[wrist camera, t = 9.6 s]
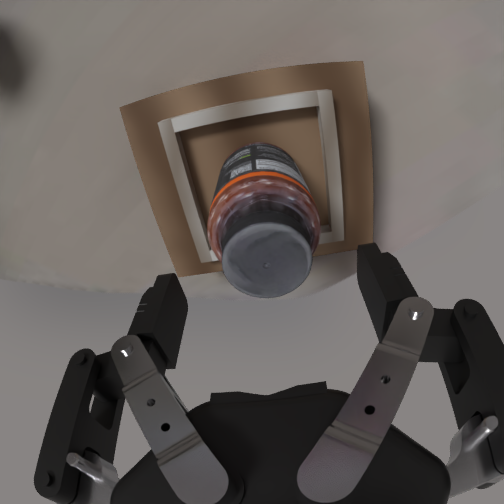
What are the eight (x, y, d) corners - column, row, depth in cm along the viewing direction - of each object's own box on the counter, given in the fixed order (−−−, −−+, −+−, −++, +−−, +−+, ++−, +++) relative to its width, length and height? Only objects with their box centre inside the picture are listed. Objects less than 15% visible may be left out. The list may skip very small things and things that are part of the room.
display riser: (340, 62, 22) (368, 61, 16) (354, 216, 31) (376, 254, 25) (144, 98, 24) (113, 109, 18) (188, 242, 33) (176, 285, 27)
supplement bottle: (267, 226, 25) (276, 331, 15) (205, 187, 23) (173, 278, 14) (314, 170, 22) (361, 253, 13) (250, 123, 20) (249, 173, 11)
